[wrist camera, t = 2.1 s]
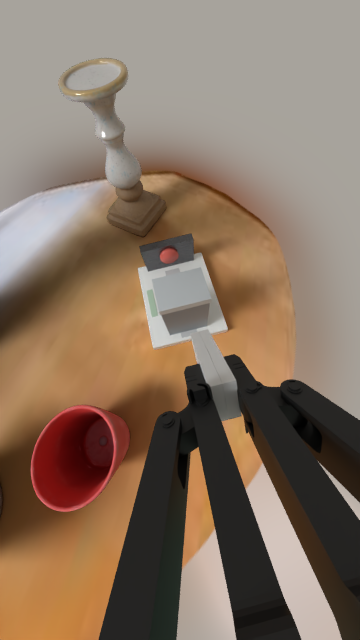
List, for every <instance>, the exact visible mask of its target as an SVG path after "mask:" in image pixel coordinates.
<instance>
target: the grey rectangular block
mask: <svg viewBox="0 0 360 640" xmlns="http://www.w3.org/2000/svg"><path fill="white" fill-rule="evenodd" d="M152 283H153V288H154V292H155V297H156V301H157V306H158V311H159V314H160V315H161V316H162V318H163V321H164V323H165V325H166V327H167V330H168V332H169V334H170V335H174V334H178V333H181V332H185V331H189V330H193V329H197V328H201V327H205V326H207V322H208V315H209V307H210V303H211V299H212V298H211V295H210V292H209V290H208V287H207V284H206V281H205V278H204V275H203V272H202V269H201V267H200V268H196V269H192V270H188V271H184V272H180V273H176V274H172V275H168V276H164V277H160V278H156V279H152Z"/></svg>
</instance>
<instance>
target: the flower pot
mask: <svg viewBox="0 0 360 640" xmlns="http://www.w3.org/2000/svg"><path fill="white" fill-rule="evenodd" d="M129 443H130V433H129V429H128V426H127V424H126V423H125V421H124V420H123V419H122V418H121V417H119V416H117V415H115V414H113V413H111V412H109V411H106V410H103V409H101V408H98V407H94V406H90V405H77V406H73V407H70V408H67V409H65V410H64V411H62V412H60V413H59V414H58V415H56V416H55V417H54V418H53V419H52V420H51V421H50V422H49V423H48V424H47V426H46V427H45V428H44V430H43V431H42V433H41V434H40V436H39V438H38V440H37V442H36V445H35V448H34V451H33V455H32V460H31V478H32V484H33V487H34V490H35V492H36V495H37V496H38V498H39V499H40V500H41V501H42V502H43V503H44V504H45V505H46V506H48V507H49V508H51V509H53V510H57V511H62V512H68V511H74V510H77V509H80V508H82V507H84V506H86V505H87V504H89V503H90V502H92V501H93V500H94V499H95V498H96V497H97V496H98V495H99V494H100V493H101V492H102V491H103V490H104V488H105V487H106V485H107V484H108V483H109V481H110V480H111V478H112V477H113V475H114V473H115V472H116V470H117V469H118V467H119V465H120V464H121V462H122V460H123V459H124V457H125V455H126V453H127V450H128V447H129Z"/></svg>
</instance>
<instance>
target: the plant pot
mask: <svg viewBox="0 0 360 640" xmlns="http://www.w3.org/2000/svg"><path fill="white" fill-rule="evenodd" d="M1 512H2V490H1V486H0V516H1Z"/></svg>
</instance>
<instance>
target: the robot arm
mask: <svg viewBox="0 0 360 640" xmlns="http://www.w3.org/2000/svg"><path fill="white" fill-rule="evenodd" d="M190 335H191V339H192V344H193V348H194V352H195V356H196V361H197V364H196V365H192V366H188V367H186V369H185V371H184V374H185V379H186V384H187V395H188V399H189V404H188V405H187V407H186V408H185V409H184V410H182V411H181V412H179V413H176V412H174V411H168V412H165V413H163V414H161V415H160V416H159V417H158V419H157V421H156V424H155V427H154V431H153V435H152V439H151V443H150V446H149V450H148V454H147V458H146V461H145V465H144V469H143V473H142V477H141V480H140V484H139V488H138V492H137V496H136V499H135V503H134V507H133V511H132V515H131V518H130V522H129V526H128V530H127V534H126V537H125V541H124V545H123V549H122V553H121V556H120V560H119V564H118V568H117V571H116V575H115V579H114V583H113V587H112V590H111V594H110V598H109V602H108V606H107V609H106V613H105V617H104V621H103V625H102V628H101V632H100V636H99V640H176V637H177V624H178V611H179V598H180V584H181V572H182V558H183V545H184V532H185V519H186V506H187V493H188V480H189V466H190V452H191V451H193V450H194V449H196V448H197V447H199V451H200V456H201V461H202V466H203V471H204V475H205V480H206V485H207V490H208V495H209V500H210V505H211V510H212V515H213V520H214V525H215V529H216V534H217V539H218V544H219V549H220V554H221V559H222V564H223V569H224V574H225V579H226V584H227V588H228V593H229V598H230V603H231V608H232V613H233V619H234V626H235V633H236V638H237V640H301V638H300V635H299V632H298V629H297V627H296V624H295V622H294V619H293V617H292V614H291V612H290V611H289V608H288V606H287V604H286V602H285V599H284V597H283V594H282V591H281V589H280V586H279V583H278V580H277V577H276V574H275V572H274V569H273V566H272V563H271V560H270V557H269V555H268V552H267V549H266V547H265V543H264V541H263V538H262V535H261V532H260V529H259V527H258V524H257V521H256V518H255V515H254V513H253V510H252V507H251V504H250V501H249V498H248V495H247V493H246V490H245V487H244V484H243V481H242V479H241V476H240V473H239V470H238V467H237V464H236V462H235V459H234V456H233V453H232V450H231V447H230V445H229V442H228V439H227V436H226V433H225V431H224V428H223V425H222V422H221V421H224V420H228V419H232V418H236V417H240V416H241V412H242V414H243V416H244V422H245V430H246V433H248V432H249V434H250V436H251V438H252V440H253V442H254V444H255V447H256V449H257V451H258V453H259V455H260V457H261V460H262V462H263V464H264V466H265V468H266V470H267V472H268V475H269V477H270V479H271V481H272V483H273V485H274V487H275V489H276V491H277V494H278V496H279V498H280V500H281V502H282V504H283V507H284V509H285V511H286V513H287V515H288V517H289V520H290V522H291V524H292V526H293V528H294V530H295V532H296V535H297V537H298V539H299V541H300V543H301V545H302V548H303V549H304V552H305V554H306V556H307V558H308V560H309V562H310V565H311V567H312V569H313V571H314V573H315V575H316V577H317V580H318V582H319V584H320V586H321V588H322V590H323V593H324V595H325V597H326V599H327V601H328V603H329V605H330V608H331V610H332V612H333V614H334V617H335V619H336V622H337V625H338V628H339V631H340V634H341V637H342V640H360V520H359V519H358V517H357V516H356V515H355V513H354V512H353V510H352V509H351V508H350V506H349V505H348V503H347V502H346V501H345V500H344V498H343V496H342V495H341V494H340V492H339V491H338V489H337V488H336V487H335V485H334V484H333V482H332V481H331V480H330V478H329V477H328V475H327V474H326V473H325V471H324V470H323V468H322V467H321V466H320V464H319V463H321V465H322V466H324V467H325V468H326V470H328V471H329V472H330V473H331V474H332V475H333V476H334V477H335V478H336V479H337V480H338V481H339V482H340V483H341V484H342V485H343V486H344V487H345V488H346V489H347V490H348V491H349V492H350V493H351V494H352V495H353V496H354V497H355V498H356V499H357V500H358V501H359V502H360V420H358V419H357V418H355V417H354V416H352V415H351V414H349V413H348V412H346V411H344V410H343V409H342V408H340V407H339V406H337V405H336V404H334V403H333V402H331V401H330V400H328V399H327V398H325V397H324V396H322V395H321V394H319V393H318V392H316V391H314V390H313V389H312V388H310V387H309V386H307V385H306V384H304V383H302V382H301V381H297V380H286V381H284V382H282V383H281V386H280V387H266V386H264V385H262V384H261V383H260V382H258V381H256V380H255V379H254V377H253V376H252V374H251V373H250V372H249V370H248V369H247V367H246V366H245V364H244V363H243V361H242V360H241V358H240V357H238V356H236V355H235V354H233V355H229V356H225V357H223V356H222V354H221V352H220V350H219V348H218V347H217V345H216V343H215V341H214V339H213V337H212V336H211V334H210V332H209V330H208V329H206V330H202V331H198V332H194V333H190ZM318 461H319V463H318Z"/></svg>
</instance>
